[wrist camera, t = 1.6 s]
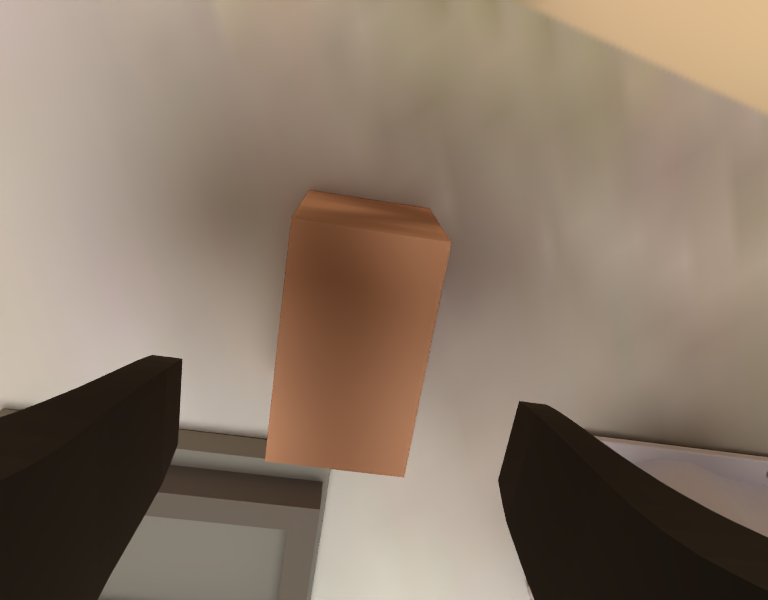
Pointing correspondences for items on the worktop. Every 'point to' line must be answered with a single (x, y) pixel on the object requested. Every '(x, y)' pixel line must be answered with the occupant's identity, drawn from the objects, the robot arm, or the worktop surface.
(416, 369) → the terracotta bar
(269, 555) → the nest plate
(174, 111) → the worktop surface
